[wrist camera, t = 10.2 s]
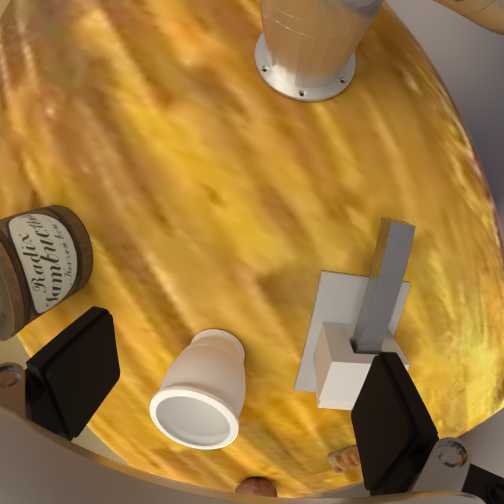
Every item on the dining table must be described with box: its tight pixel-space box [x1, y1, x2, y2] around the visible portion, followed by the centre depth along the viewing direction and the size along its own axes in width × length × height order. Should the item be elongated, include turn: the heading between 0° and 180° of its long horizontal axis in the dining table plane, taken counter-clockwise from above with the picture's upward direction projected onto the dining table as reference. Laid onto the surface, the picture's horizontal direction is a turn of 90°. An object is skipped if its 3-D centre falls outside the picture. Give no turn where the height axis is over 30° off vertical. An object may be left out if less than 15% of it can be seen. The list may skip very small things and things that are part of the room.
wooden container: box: [0, 205, 92, 341], centre depth 30 cm, size 15×15×22 cm
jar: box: [149, 329, 246, 449], centre depth 35 cm, size 11×10×15 cm
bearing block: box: [294, 270, 411, 401], centre depth 35 cm, size 20×13×10 cm, turn 173°
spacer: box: [315, 383, 356, 410], centre depth 39 cm, size 5×6×4 cm
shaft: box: [350, 217, 415, 355], centre depth 32 cm, size 20×3×3 cm, turn 173°
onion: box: [235, 478, 277, 497], centre depth 48 cm, size 10×9×10 cm
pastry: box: [328, 445, 360, 473], centre depth 45 cm, size 9×7×4 cm
